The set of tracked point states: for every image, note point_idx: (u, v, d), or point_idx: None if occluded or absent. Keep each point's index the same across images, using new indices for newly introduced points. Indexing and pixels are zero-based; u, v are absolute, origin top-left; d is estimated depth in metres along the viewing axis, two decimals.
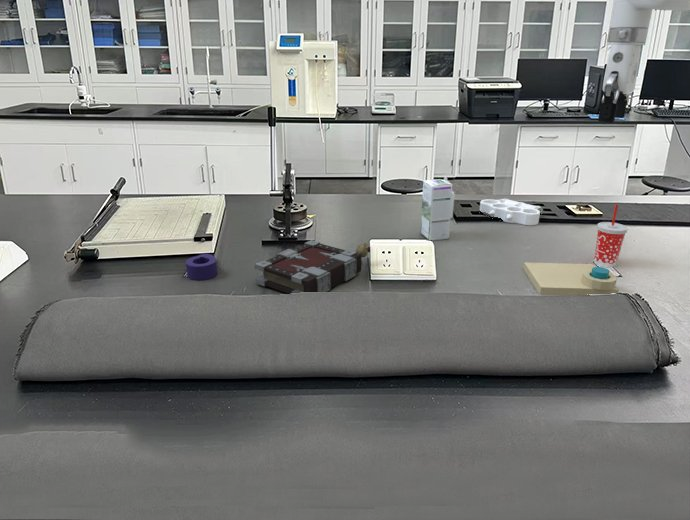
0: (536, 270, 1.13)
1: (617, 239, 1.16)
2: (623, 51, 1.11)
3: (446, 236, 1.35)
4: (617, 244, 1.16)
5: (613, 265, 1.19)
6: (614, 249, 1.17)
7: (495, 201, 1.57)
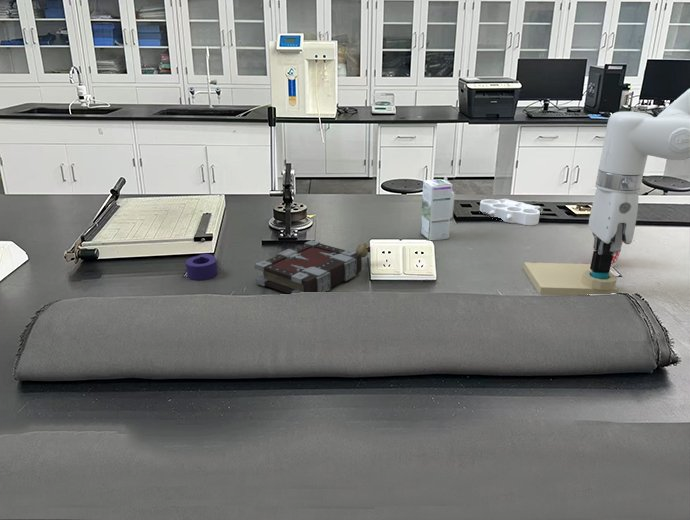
0: (536, 270, 1.13)
1: None
2: (631, 201, 0.95)
3: (446, 236, 1.35)
4: None
5: (613, 265, 1.19)
6: None
7: (495, 201, 1.57)
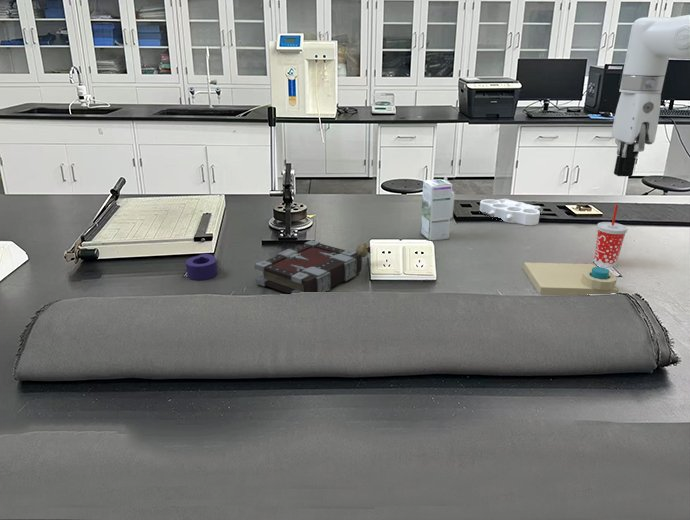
0: (536, 270, 1.13)
1: (617, 239, 1.16)
2: (654, 101, 1.03)
3: (446, 236, 1.35)
4: (617, 244, 1.16)
5: (613, 265, 1.19)
6: (614, 249, 1.17)
7: (495, 201, 1.57)
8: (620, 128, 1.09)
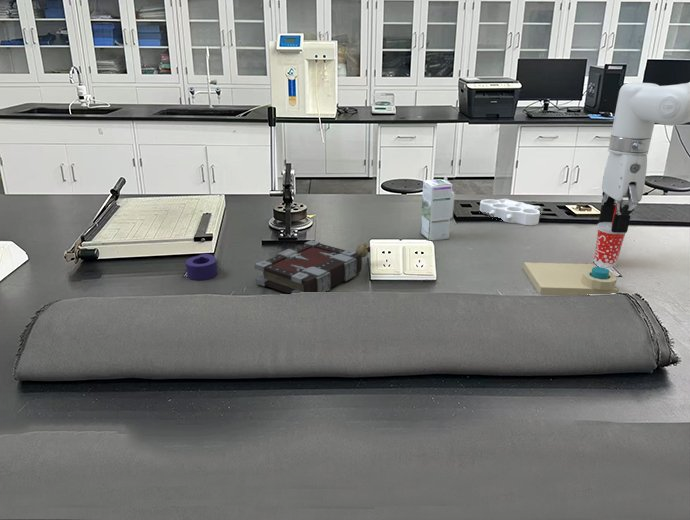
0: (536, 270, 1.13)
1: (617, 239, 1.16)
2: (640, 162, 1.07)
3: (446, 236, 1.35)
4: (617, 244, 1.16)
5: (613, 265, 1.19)
6: (614, 249, 1.17)
7: (495, 201, 1.57)
8: (609, 185, 1.14)
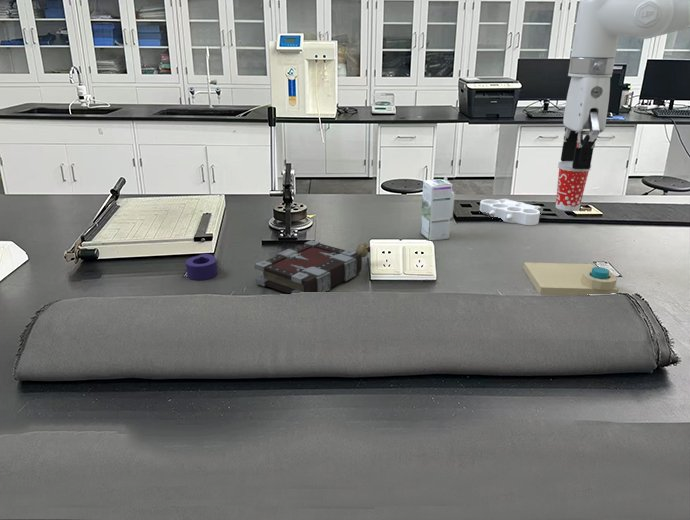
0: (536, 270, 1.13)
1: (579, 177, 1.03)
2: (602, 85, 0.95)
3: (446, 236, 1.35)
4: (580, 184, 1.04)
5: (576, 208, 1.06)
6: (577, 189, 1.04)
7: (495, 201, 1.57)
8: (570, 115, 1.02)
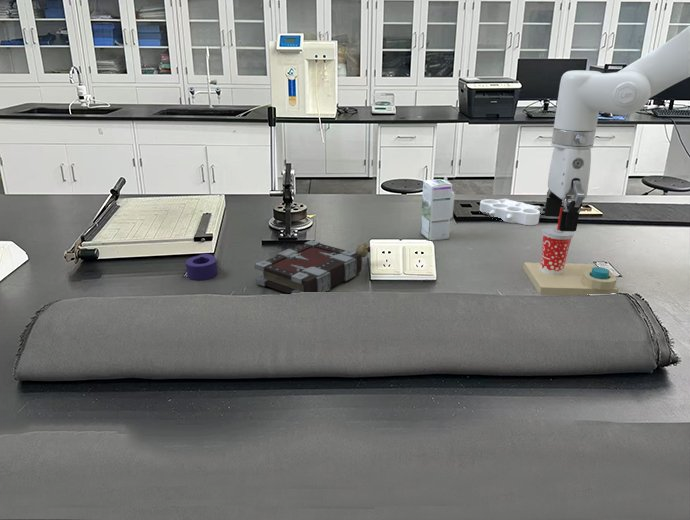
0: (536, 270, 1.13)
1: (562, 244, 1.08)
2: (583, 157, 0.99)
3: (446, 236, 1.35)
4: (563, 250, 1.08)
5: (559, 272, 1.11)
6: (560, 255, 1.09)
7: (495, 201, 1.57)
8: (553, 181, 1.06)
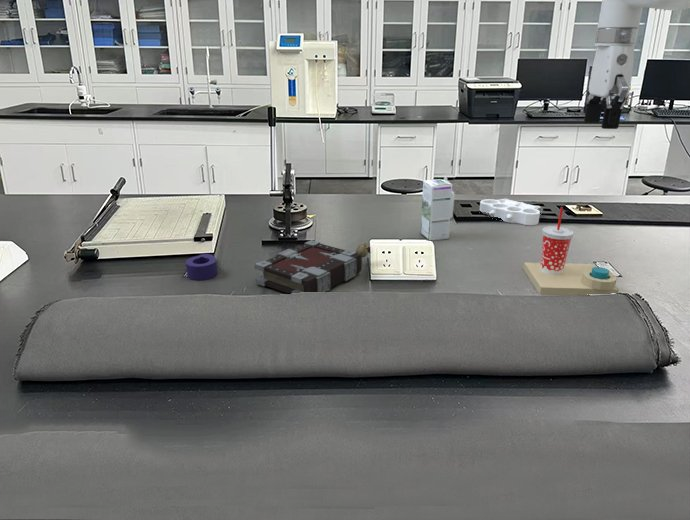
0: (536, 270, 1.13)
1: (562, 244, 1.08)
2: (627, 53, 1.04)
3: (446, 236, 1.35)
4: (563, 250, 1.08)
5: (559, 272, 1.11)
6: (560, 255, 1.09)
7: (495, 201, 1.57)
8: (596, 83, 1.10)
